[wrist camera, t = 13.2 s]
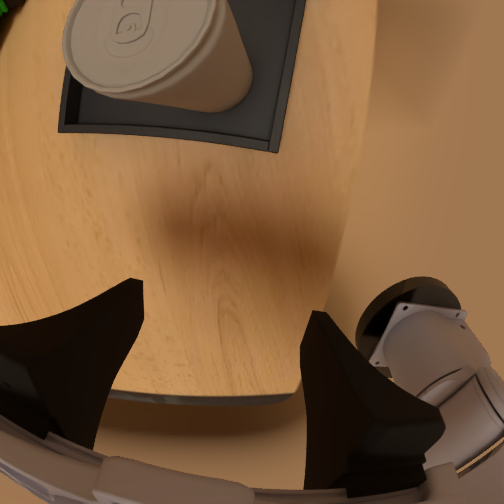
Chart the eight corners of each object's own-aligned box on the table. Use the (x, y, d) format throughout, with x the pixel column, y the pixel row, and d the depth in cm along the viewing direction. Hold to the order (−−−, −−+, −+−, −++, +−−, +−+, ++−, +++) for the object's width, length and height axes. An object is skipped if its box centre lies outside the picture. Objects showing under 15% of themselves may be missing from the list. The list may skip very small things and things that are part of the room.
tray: (312, -41, 12) (315, -56, 10) (277, 150, 18) (278, 153, 16) (114, -39, 12) (101, -50, 10) (75, 130, 18) (57, 132, 16)
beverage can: (175, 113, 17) (50, 108, 6) (181, 44, 15) (74, -30, 4) (251, 115, 17) (212, 93, 6) (257, 44, 15) (231, -62, 4)
